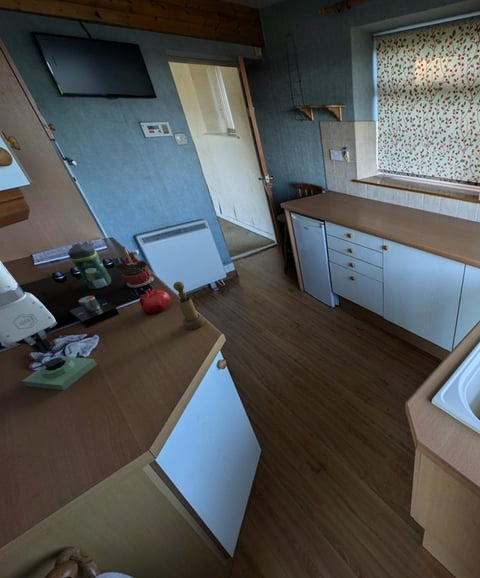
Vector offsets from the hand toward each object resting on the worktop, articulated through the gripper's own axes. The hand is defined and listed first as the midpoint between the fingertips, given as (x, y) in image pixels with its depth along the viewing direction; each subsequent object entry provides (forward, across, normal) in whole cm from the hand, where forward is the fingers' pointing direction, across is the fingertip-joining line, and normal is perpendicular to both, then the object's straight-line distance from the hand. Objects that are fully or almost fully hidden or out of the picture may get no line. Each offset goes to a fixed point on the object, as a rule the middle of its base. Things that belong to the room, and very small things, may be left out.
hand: (45, 351), depth 82 cm
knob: (+6, +22, +24) cm, 33 cm away
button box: (+10, 0, 0) cm, 10 cm away
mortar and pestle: (+10, +32, -14) cm, 36 cm away
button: (+6, 0, 0) cm, 6 cm away
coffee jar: (+9, +37, +48) cm, 62 cm away
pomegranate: (+10, +34, +8) cm, 36 cm away
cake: (+10, +44, +33) cm, 56 cm away
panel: (+9, +22, +24) cm, 34 cm away
